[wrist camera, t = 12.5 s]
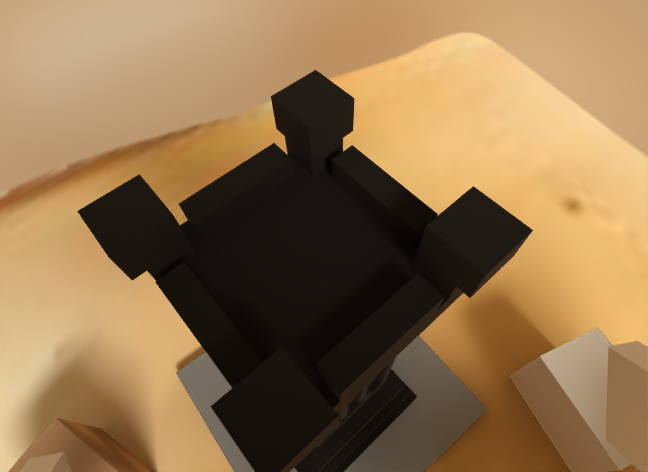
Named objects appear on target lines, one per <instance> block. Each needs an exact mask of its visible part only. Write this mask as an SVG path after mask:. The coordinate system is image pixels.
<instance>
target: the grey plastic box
mask: <svg viewBox="0 0 648 472" xmlns="http://www.w3.org/2000/svg"><path fill="white" fill-rule="evenodd" d="M609 346H613V345H612V344H611V343H610V341H609V340H608V339H607V338H606V336H605V335H604V334H603V333H602V332H601V330H600V329H599V328H598V327H597V328H595V329H593V330H591V331H589V332H587V333H585V334H583V335H581V336H579V337H577V338H575V339H573V340H571V341H569V342H567V343H565V344H563V345H561V346H559V347H557V348H555V349H553V350H551V351H549V352H547V353H545V354H543V355H541V356H539V357H538V358H536V359H534V360H533V361H531V362H530V363H528V364H527V365H525V366H524V367H522V368H521V369H519V370H518V371H516V372H514V373H513V374H511V375H510V376H509V378H510V379H511V381H512V382H513V384H514V385H515V387H516V388H517V390H518V391H519V393H520V395H521V396H522V398H523V399H524V401H525V402H526V404H527V405H528V407H529V408H530V410H531V411H532V413H533V415H534V416H535V418H536V419H537V421H538V422H539V424H540V425H541V427H542V428H543V430H544V432H545V433H546V435H547V436H548V438H549V439H550V441H551V442H552V444H553V445H554V447H555V449H556V450H557V452H558V453H559V455H560V456H561V458H562V459H563V461H564V462H565V464H566V465H567V467H568V469H569V470H570V472H609V471H621V470H623V469H624V468H626V467H628V466H630V465H631V463H630V462H629V461H628V460H627V459H626V458H625V457H623V456H622V455H621V454H620V453H619V452H618V451H617V450H616V449H615V448H614V447H613V446H612V445H611V444H610V443H608V442H607V441H606V416H607V379H608V347H609Z"/></svg>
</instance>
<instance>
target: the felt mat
mask: <svg viewBox="0 0 648 472" xmlns="http://www.w3.org/2000/svg"><path fill="white" fill-rule="evenodd" d="M391 369H392V370H393V371H394V372H395V373H396V374H397V375H398V376H399V378H400V379H401V380H402V381H403V382H404V383H405V384H406V385H407V386H408V387H409V388H410V389H411V390H412V391H413V392H414V393H415V395H416V396H417V398H416V399H415V400H414V401H413V402H412V403H411V404H410V405H409V406H408V407H407V408H406V409H405V410H404V411H403V412H402V413H401V414H400V415H399V416H398V417H397V418H396V419H395V420H394V421H393V422H392V424H391V425H390V426H389V427H388V428H387V429H386V430H385V431H384V432H383V433H382V434H381V435H380V436H379V437H378V438H377V439H376V440H375V441H374V442H373V443H372V444H371V445H370V446H369V447H368V448H367V449H366V450H365V451H364V452H363V453H362V454H361V455H360V456H359V457H358V458H357V459H356V460H355V461H354V462H353V463H352V464H351V465H350V466H349V467H348V468H347V469H346V470H345V471H344V472H425V471H426V470H427V469H428V468H429V467H430V466H431V465H432V464H433V463H434V462H435V461H436V460H437V459H438V458H439V457H440V456H441V455H442V454H443V453H444V452H445V451H446V450H447V449H448V448H449V447H450V446H451V445H452V444H453V443H454V442H455V441H456V440H457V439H458V438H459V437H460V436H461V435H462V434H463V433H464V432H465V431H466V430H467V429H468V428H469V427H470V426H471V425H472V424H473V423H474V422H475V421H476V420H477V419H478V418H479V417H480V416H481V415H482V414H483V413H484V412H485V411H486V410H487V408H486V407H485V406H484V405H483V404H482V403H481V402H480V401H479V400H478V398H477V397H476V396H475V395H474V394H473V393H472V392H471V391H470V390H469V389H468V388H467V387H466V386H465V385H464V384H463V382H462V381H461V380H460V379H459V378H458V377H457V376H456V375H455V374H454V373H453V372H452V371H451V370H450V369H449V367H448V366H447V365H446V364H445V363H444V362H443V361H442V360H441V359H440V358H439V357H438V356H437V355H436V354H435V353H434V351H433V350H432V349H431V348H430V347H429V346H428V345H427V344H426V343H425V342H424V341H423V340H422V339H421V338H420V337H419V335H418V336H417V337H416V338H415V339H414V340H413V341H412V342H411V343H410V344H409V345H408V346H407V347H406V348H405V349H404V350H403V351H402V352H401V353H399V354H398V355H397V356H396V358H395V361H394V363H393V365H392V368H391ZM176 374H177V375H178V377H179V379H180V380H181V382H182V384H183V385H184V387H185V389H186V390H187V392H188V394H189V396H190V397H191V399H192V401H193V402H194V404H195V406H196V407H197V409H198V411H199V412H200V414H201V416H202V418H203V419H204V421H205V423H206V424H207V426H208V428H209V429H210V431H211V433H212V435H213V436H214V438H215V440H216V441H217V443H218V445H219V446H220V448H221V450H222V451H223V453H224V455H225V457H226V458H227V460H228V462H229V463H230V465H231V467H232V468H233V470H234V472H255V471H254V470H253V468H252V467H251V466H250V464H249V463H248V461H247V460H246V458H245V457H244V455H243V454H242V452H241V451H240V449H239V448H238V446H237V445H236V444H235V442H234V441H233V439H232V438H231V436H230V435H229V433H228V432H227V430H226V429H225V427H224V426H223V424H222V423H221V421H220V420H219V419H218V417H217V416H216V414H215V413H214V411H213V410H212V408H211V407H210V406H211V405H213V404H214V403H215V402H216V401H217V400H219V399H220V398H221V397H222V396H223V395H225V394H226V393H227V392H228V391H229V390H231V389H232V387H231V386H230V384H229V383H228V382H227V380H226V379H225V378H224V376H223V375H222V373H221V372H220V371H219V369H218V368H217V367H216V365H215V364H214V362H213V361H212V360H211V358H210V357H209V355H208V354H207V353H206V352H204V353H203V354H202V355H200V356H199V357H197V358H196V359H195V360H193V361H192V362H191V363H189V364H188V365H186V366H185V367H184V368H182V369H181V370H179V371H178V372H177V373H176ZM290 472H297V470H296V469H295V468H293V469H292V470H291V471H290Z"/></svg>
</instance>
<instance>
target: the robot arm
mask: <svg viewBox="0 0 648 472" xmlns="http://www.w3.org/2000/svg"><path fill="white" fill-rule="evenodd" d="M606 441H607V442H608V443H610V444H611V445H612V446H613V447H614V448H615V449H616V450H617V451H618V452H619V453H620V454H621V455H622V456H623V457H625V458H626V459H627V460H628V461H629V462H630V463H631V464H632V465H633V466H634V467H635V468H636V469H637V470H639V471H640V472H648V347H647V346H645V345H643V344H642V343H640V342H638V341H635V342H630V343H624V344H619V345H614V346H609V347H608V379H607V416H606ZM19 472H71V469H70V466H69V463H68V461H67V458H66V455H65V452H61V453H55V454H50V455H45V456H40V457H35V458H29V460H28V461H27V462H26V464H25V465H24V466H23V468H22V469H21V470H20V471H19Z"/></svg>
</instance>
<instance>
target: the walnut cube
mask: <svg viewBox="0 0 648 472" xmlns="http://www.w3.org/2000/svg"><path fill="white" fill-rule="evenodd" d="M61 452H65V455H66V458H67V461H68V463H69V466H70V469H71V472H152V471H151V470H150V469H149V468H147V467H146V466H145V465H144V464H143V463H141V462H140V461H139V460H138V459H136V458H135V457H134V456H133V455H132V454H130V453H129V452H128V451H127V450H125V449H124V448H123V447H122V446H121V445H119V444H118V443H117V442H116V441H114V440H113V439H112V438H111V437H110V436H108V435H107V434H106V433H105V432H103V431H102V430H101V429H99V428H95V427H91V426H86V425H82V424H78V423H74V422H70V421H66V420H62V419H58V418H54V419H53V420H52V422H51V423H50V424H49V425H48V426H47V427H46V429H45V430H44V431H43V432H42V433H41V434H40V436H39V437H38V438H37V439H36V440H35V441H34V443H33V444H32V445H31V446H30V447H29V448H28V450H27V451H26V452H25V453H24V454H23V455H22V456H21V458H20V459H19V460H18V461H17V462H16V463H15V465H14V466H13V467H12V468H11V469H10V470H9V472H19V471H20V470H21V469H22V468H23V466H24V465H25V464H26V462H27V461H28V460H29V458H35V457H40V456H45V455H50V454H55V453H61Z"/></svg>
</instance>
